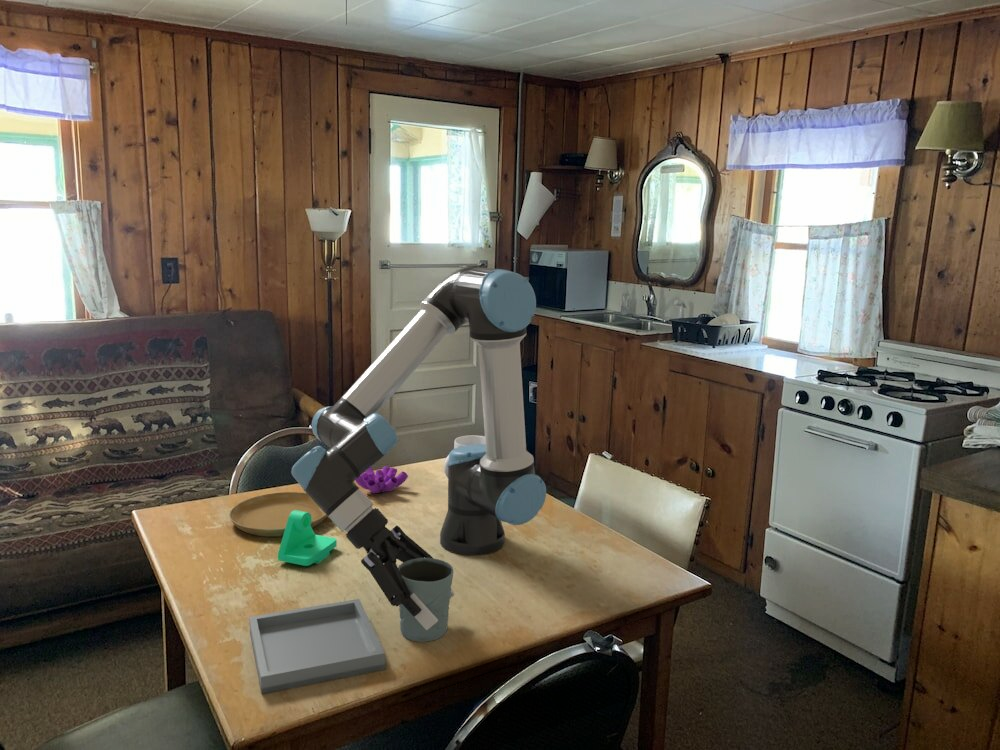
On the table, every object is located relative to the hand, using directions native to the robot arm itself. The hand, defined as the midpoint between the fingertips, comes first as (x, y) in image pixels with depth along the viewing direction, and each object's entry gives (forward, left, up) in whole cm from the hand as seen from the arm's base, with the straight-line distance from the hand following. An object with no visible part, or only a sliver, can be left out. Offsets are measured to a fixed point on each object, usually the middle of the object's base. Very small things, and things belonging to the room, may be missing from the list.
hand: (441, 611), depth 142 cm
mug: (-32, -73, -4) cm, 80 cm away
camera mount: (+17, -41, -5) cm, 45 cm away
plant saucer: (+21, -64, -5) cm, 67 cm away
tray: (+23, -2, -4) cm, 23 cm away
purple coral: (-7, -76, -4) cm, 76 cm away
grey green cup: (+3, -2, -4) cm, 5 cm away
